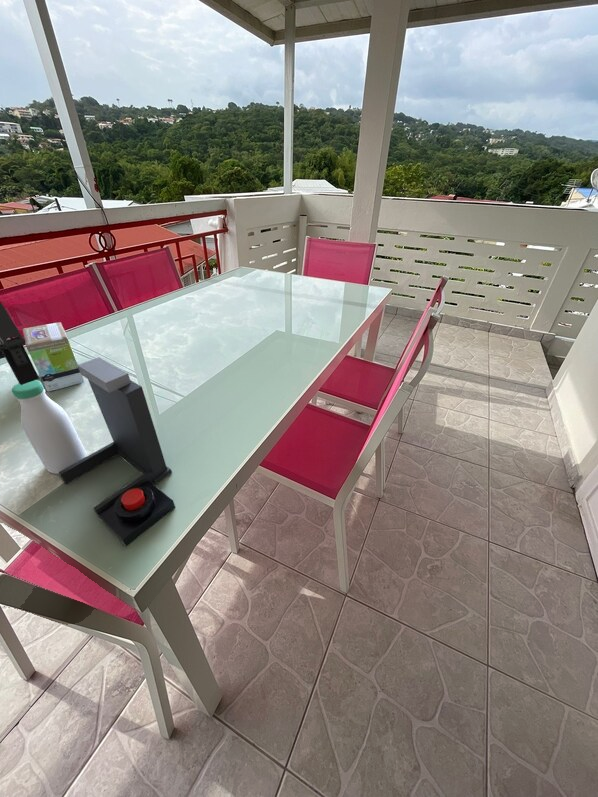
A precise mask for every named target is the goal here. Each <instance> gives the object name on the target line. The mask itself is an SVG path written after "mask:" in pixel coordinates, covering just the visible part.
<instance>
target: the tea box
mask: <svg viewBox="0 0 598 797" xmlns="http://www.w3.org/2000/svg"><path fill="white" fill-rule="evenodd" d="M22 333H23V338H24V339H25V342H26V344H25V347H26V351H27V353H28V355H29V356H30V359H31V361H32V362H33V363H34V367H35V369H36V372H37V374H38V376H39V378H40V379H41V381H42V384H43V386H44V389H45V391H47V392H52V391H53V392H54V391H56V390H60V389H64V388H67V387H72V386H75V385H79V384H82V383H85V379H84V378H85V377H84V376H83V375H81V373H80V371H79V368H78V366H77V365H79V362H78V360H77V358H76V355H75V352H74V350H73V346H72V345H71V342H70V340H69V337H68V335H67V333H66V330H65V328H64V327H63V324H62V322H60V321H59V322H53V323H48V324H42V325H41V324H40V325H36V326H31V327H26V328H25V327H24V328H22Z"/></svg>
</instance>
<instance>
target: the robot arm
mask: <svg viewBox="0 0 598 797" xmlns="http://www.w3.org/2000/svg"><path fill="white" fill-rule="evenodd" d="M24 345H26V342H25V339H24V336H23V335H22V334H21V331H20V330H19V329H18V327H17V326H16V324H15V323H14V321H13V320H12V318H11V316H10V314H9V312H8V311H7V310H6V308H5V307H4V305H3V302H1V300H0V360H1V359H4V358H5V360H6V362H7V364H8V366H9V367H10V369H11V371H12V373H13V374H14V377H15V378H16V380H17V382H18V384H20V385H23V384H26V383H28V382H31V381H34V380H40V376H39V374H38V372H37V370H36V368H35V366H34V365H33V363H32V360H31V357H29V356H30V355H29V353H28V351H27V349H26V348H25V346H24Z"/></svg>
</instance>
